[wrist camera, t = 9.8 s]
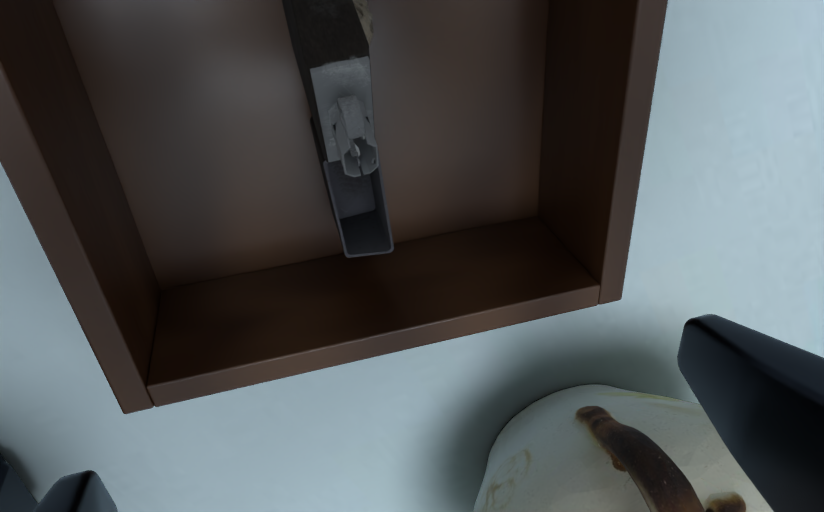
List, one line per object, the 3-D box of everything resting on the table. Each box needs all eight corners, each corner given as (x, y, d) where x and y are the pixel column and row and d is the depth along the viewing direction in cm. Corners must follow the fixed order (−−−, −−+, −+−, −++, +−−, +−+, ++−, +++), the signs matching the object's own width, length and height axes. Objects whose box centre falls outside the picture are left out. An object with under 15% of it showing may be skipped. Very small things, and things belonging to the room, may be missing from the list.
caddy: (144, 303, 20) (123, 416, 16) (-38, -153, 13) (-162, -167, 9) (548, 222, 22) (622, 300, 18) (576, -196, 16) (704, -223, 11)
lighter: (370, 128, 21) (413, 260, 19) (312, 141, 20) (350, 277, 18) (353, -88, 13) (422, 92, 11) (262, -71, 13) (317, 117, 11)
